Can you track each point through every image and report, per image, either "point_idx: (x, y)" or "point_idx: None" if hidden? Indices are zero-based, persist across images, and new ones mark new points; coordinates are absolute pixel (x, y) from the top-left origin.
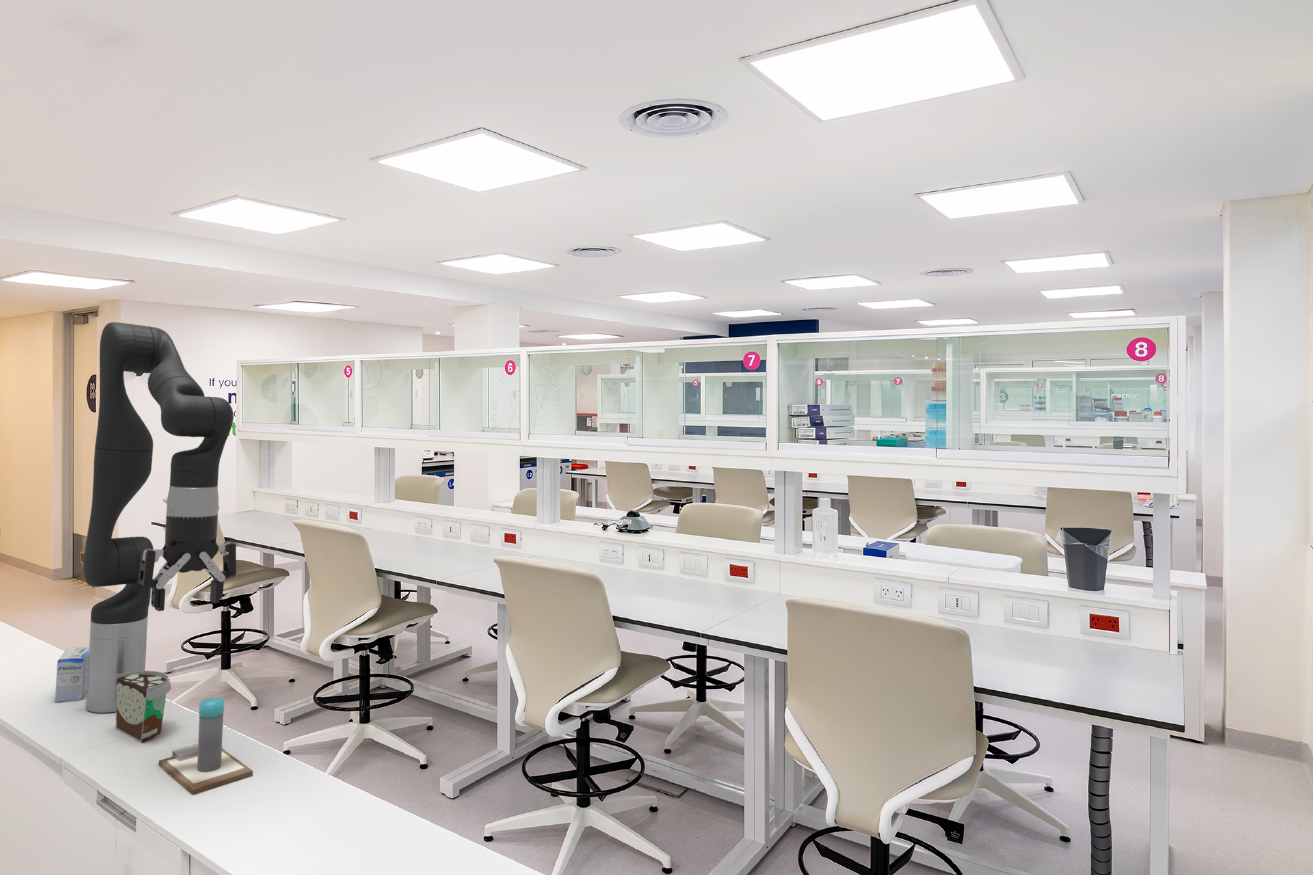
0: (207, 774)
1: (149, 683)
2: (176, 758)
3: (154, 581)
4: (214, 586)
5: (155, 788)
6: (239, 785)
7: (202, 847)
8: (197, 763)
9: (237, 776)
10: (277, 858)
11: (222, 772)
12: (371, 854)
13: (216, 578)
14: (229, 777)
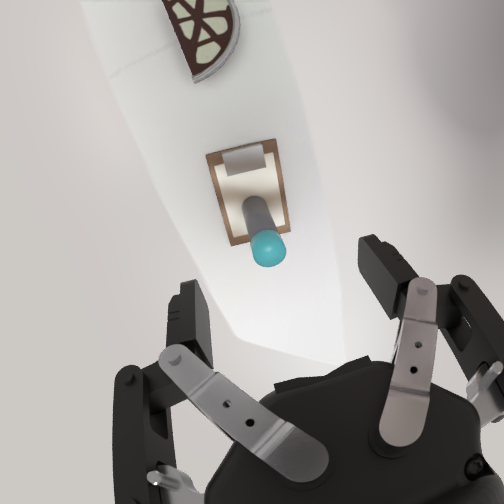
0: None
1: (202, 26)
2: (224, 166)
3: (176, 399)
4: (384, 298)
5: (199, 214)
6: None
7: (226, 318)
8: (242, 210)
9: None
10: (265, 341)
11: None
12: (309, 351)
13: (397, 332)
14: None
